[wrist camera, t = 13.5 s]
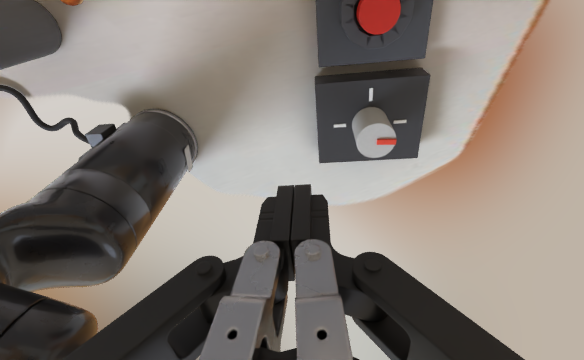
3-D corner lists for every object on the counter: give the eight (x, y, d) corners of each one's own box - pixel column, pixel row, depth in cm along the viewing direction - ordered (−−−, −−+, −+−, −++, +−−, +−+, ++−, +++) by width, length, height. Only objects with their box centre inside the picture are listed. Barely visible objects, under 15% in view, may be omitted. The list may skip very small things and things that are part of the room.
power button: (356, 33, 29) (358, 36, 27) (356, -11, 27) (359, -10, 25) (394, 29, 28) (398, 32, 27) (398, -15, 26) (403, -15, 25)
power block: (318, 62, 34) (319, 72, 31) (313, -48, 28) (313, -51, 25) (419, 53, 33) (430, 62, 30) (434, -63, 27) (450, -68, 24)
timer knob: (351, 139, 36) (355, 159, 32) (352, 107, 34) (358, 125, 30) (385, 138, 36) (394, 159, 32) (389, 106, 33) (399, 123, 29)
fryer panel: (319, 151, 40) (319, 163, 38) (314, 76, 35) (315, 84, 32) (410, 146, 39) (417, 158, 37) (421, 67, 34) (431, 75, 31)
